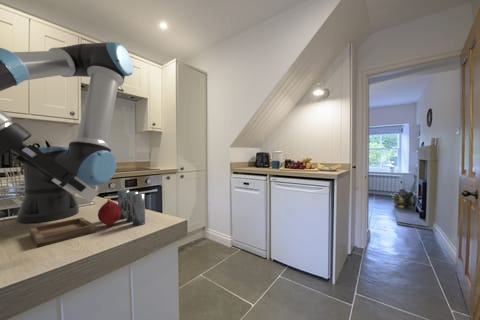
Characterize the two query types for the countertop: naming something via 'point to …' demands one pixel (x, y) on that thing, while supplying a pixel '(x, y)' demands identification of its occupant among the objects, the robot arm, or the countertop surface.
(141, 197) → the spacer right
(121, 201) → the spacer left
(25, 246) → the countertop surface
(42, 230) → the tray
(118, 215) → the onion
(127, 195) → the spacer mid
